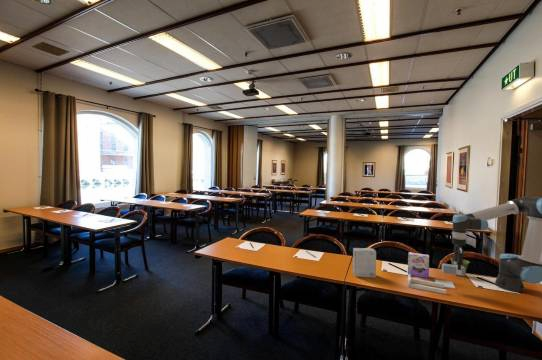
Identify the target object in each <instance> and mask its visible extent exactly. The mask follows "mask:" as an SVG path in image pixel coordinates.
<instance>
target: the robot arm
mask: <svg viewBox="0 0 542 360" xmlns="http://www.w3.org/2000/svg"><path fill="white" fill-rule="evenodd" d="M511 214H513V215H518V214H527V215H526V217H527V219H528V225H527V228H526V233H525V238H524V243H523V246H522V251H521V255H520V254H519V255H518V254H514V253H500V254H499V258H498V259H499V263H498V264H499V265H498V275H497V276H496V279H495V281H494V284H495V286H497V288H500V289H503V290H506V291H510V292H515V293H524V292H525V291H526V287H525V283H524V282H527V283H530V284H539V283H542V260H541V258H542V197H539V196H532V195H531V196H530V195H529V196H523V197H519V198H514V199H511V200H507V201H506V203H503V204H499V205H495V206H492V207H488V208H484V209H480V210H477V211H473V212H469V213H467V214H462V213H460V214H459V213H458V214H457V213H456V214H454V215H453V217H452V232H451V234H452V237H451V243H452V245H453V258H454V261H455V263H454V265H456V274H458V275H461V272H462V265H463V260H464V248H463V246H466V245H467V231H468V230H469V231H487V230H488V229H489V223H488V221H490V220H493V219H497V218H500V217H504V216H508V215H511ZM458 275H457V276H458Z"/></svg>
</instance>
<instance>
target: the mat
mask: <svg viewBox="0 0 542 360" xmlns="http://www.w3.org/2000/svg"><path fill="white" fill-rule="evenodd" d="M434 282H436V283H442V284H444V288H447V289H448V288H449V289H451V290H452V289H453V290H456V289H457V288H456V286H455V285H454V282H453V281H450V280H443V279H436V278H434Z"/></svg>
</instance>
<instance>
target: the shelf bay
mask: <svg viewBox="0 0 542 360" xmlns="http://www.w3.org/2000/svg"><path fill="white" fill-rule="evenodd" d="M407 284H408V288H412V289H417V290H422V291H428V292H432V293H438V294H442V295H447V289H444V288H445V287H444V284H442V283H436V282H435V281H429V280H423V279H417V278H412V277H411V275H410V274H408V273H407Z"/></svg>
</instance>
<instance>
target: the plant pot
mask: <svg viewBox="0 0 542 360" xmlns="http://www.w3.org/2000/svg"><path fill="white" fill-rule="evenodd" d="M450 260H451V265H454V263H455V261H454V257H451V258H450ZM469 264H470V261H469V260H466V259H463V265H462V266H463V267H464V268H465V275H466V273H467V270H468V266H469ZM457 276H459V277H462V276H461V275H457Z"/></svg>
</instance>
